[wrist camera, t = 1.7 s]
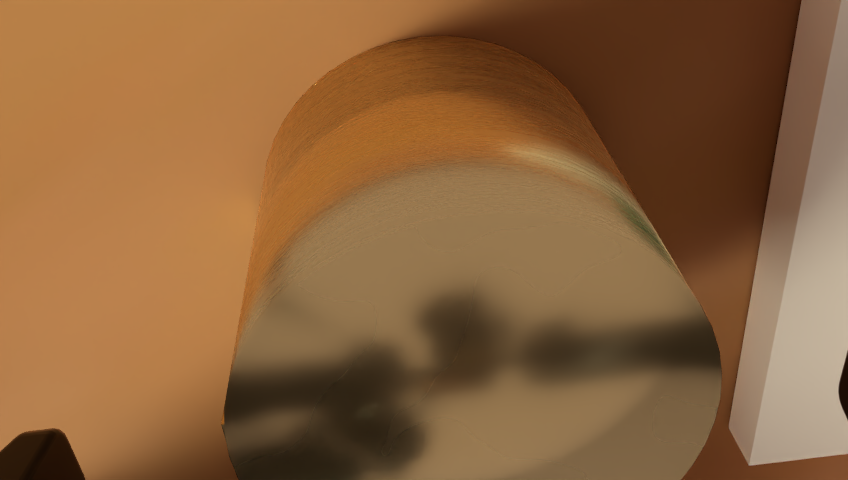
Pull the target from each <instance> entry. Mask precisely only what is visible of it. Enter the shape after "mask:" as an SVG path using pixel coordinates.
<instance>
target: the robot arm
mask: <svg viewBox="0 0 848 480" xmlns="http://www.w3.org/2000/svg"><path fill="white" fill-rule="evenodd" d="M838 394H839V400H840V404H841V406H842V409H843V411H844V413H845V416H846V418H847V420H848V351H847V355H846V359H845V362H844V366H843V370H842V374H841V378H840V381H839V387H838ZM0 480H85V477H84V474H83V472H82V470H81V468H80V465H79V463H78V461H77V459H76V457H75V454H74V452H73V450H72V448H71V446H70V443H69V441H68V439H67V437H66V435H65V434H64V433H63V432H62V431H61V430H59V429H55V428H52V429H44V430H36V431H28V432H24V433H22V434H20V435H18V436H17V437H16V438H15V439H13V440H12V441H11V442H10V443H9V444H8V445H7V446H6V447H5V448H4V449H3V450H1V451H0Z"/></svg>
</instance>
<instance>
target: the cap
mask: <svg viewBox="0 0 848 480" xmlns="http://www.w3.org/2000/svg"><path fill="white" fill-rule="evenodd" d="M721 381H722V371H721V362H720V352H719V348H718V345H717V342H716V338H715V335H714V332H713V329H712V326H711V324H710V323H709V321H708V319H707V317H706V315H705V313H704V311H703V309H702V307H701V305H700V304H699V302H698V300H697V299H696V297H695V295H694V294H693V292H692V290H691V289H690V287H689V285H688V284H687V282H686V280H685V279H684V277H683V275H682V274H681V272H680V270H679V269H678V267H677V265H676V264H675V262H674V260H673V259H672V257H671V255H670V254H669V252H668V250H667V249H666V247H665V245H664V244H663V242H662V241H661V239H660V237H659V236H658V234H657V232H656V231H655V229H654V227H653V226H652V224H651V222H650V221H649V219H648V217H647V216H646V214H645V212H644V211H643V209H642V207H641V206H640V204H639V202H638V201H637V199H636V197H635V196H634V194H633V192H632V191H631V189H630V187H629V186H628V184H627V182H626V181H625V179H624V177H623V176H622V174H621V172H620V171H619V169H618V167H617V166H616V164H615V162H614V161H613V159H612V158H611V156H610V154H609V153H608V151H607V149H606V148H605V146H604V144H603V143H602V141H601V139H600V138H599V136H598V134H597V133H596V131H595V129H594V128H593V126H592V124H591V123H590V121H589V119H588V118H587V116H586V114H585V113H584V111H583V109H582V108H581V106H580V105H579V103H578V102H577V101H576V99H575V98H574V97H573V95H572V94H571V93H570V91H569V90H568V89H567V88H566V87H565V86H564V85H563V84H562V83H561V82H560V81H559V80H558V79H557V78H556V77H555V76H554V75H552V74H551V73H550V72H548V71H547V70H546V69H544V68H543V67H542V66H540V65H539V64H537V63H536V62H534V61H533V60H531V59H529V58H527V57H525V56H523V55H521V54H519V53H518V52H516V51H513V50H511V49H508V48H505V47H502V46H500V45H497V44H494V43H490V42H486V41H481V40H477V39H472V38H465V37H453V36H430V37H417V38H411V39H405V40H400V41H395V42H392V43H388V44H385V45H382V46H379V47H375V48H372V49H370V50H368V51H366V52H363V53H361V54H359V55H357V56H355V57H352V58H350V59H348V60H347V61H345V62H344V63H342V64H340V65H339V66H337V67H336V68H334V69H332V70H331V71H329V72H328V73H327V74H326V75H324V76H323V77H322V78H321V79H320V80H318V81H317V82H316V83H315V84H314V85H312V86H311V87H310V88H309V89H308V90H307V92H306V93H305V94H304V95H303V96H302V97H301V98H300V99H299V100H298V101H297V102H296V104H295V105H294V107H293V108H292V109H291V111H290V112H289V114H288V115H287V117H286V118H285V120H284V121H283V123H282V125H281V127H280V129H279V131H278V133H277V135H276V137H275V139H274V141H273V144H272V147H271V151H270V154H269V157H268V160H267V165H266V171H265V177H264V182H263V188H262V194H261V199H260V205H259V211H258V217H257V222H256V228H255V234H254V239H253V245H252V251H251V257H250V262H249V268H248V274H247V280H246V285H245V291H244V297H243V302H242V308H241V314H240V320H239V325H238V331H237V337H236V343H235V348H234V354H233V360H232V365H231V371H230V377H229V383H228V389H227V395H226V400H225V406H224V412H223V418H222V423H221V425H222V429H223V432H224V435H225V438H226V443H227V447H228V452H229V457H230V460H231V462H232V464H233V467H234V469H235V472H236V474H237V477H238V479H239V480H681V479H682V478H683V477H684V475H685V474H686V473H687V471H688V470H689V469H690V468H691V466H692V465H693V464H694V462H695V460H696V458H697V457H698V455H699V453H700V452H701V450H702V448H703V447H704V445H705V443H706V441H707V438H708V436H709V434H710V431H711V429H712V427H713V424H714V422H715V418H716V414H717V410H718V406H719V402H720V395H721Z"/></svg>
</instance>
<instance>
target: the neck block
mask: <svg viewBox="0 0 848 480" xmlns="http://www.w3.org/2000/svg"><path fill="white" fill-rule="evenodd" d="M847 351H848V0H802V1H801V7H800V13H799V19H798V24H797V30H796V36H795V42H794V48H793V54H792V59H791V65H790V71H789V77H788V83H787V89H786V94H785V100H784V106H783V112H782V118H781V124H780V129H779V135H778V141H777V147H776V153H775V159H774V164H773V170H772V176H771V182H770V188H769V194H768V199H767V205H766V211H765V217H764V223H763V229H762V234H761V240H760V246H759V252H758V258H757V264H756V269H755V275H754V281H753V287H752V293H751V298H750V304H749V310H748V316H747V322H746V328H745V333H744V339H743V345H742V351H741V357H740V363H739V368H738V374H737V380H736V386H735V392H734V398H733V403H732V409H731V415H730V421H729V427H728V428H729V430H730V431H731V433H732V435H733V437H734V439H735V441H736V443H737V444H738V446H739V448H740V450H741V452H742V454H743V456H744V457H745V459H746V461H747V463H748V465H749V466H751V465H759V464H768V463H776V462H784V461H792V460H801V459H809V458H817V457H826V456H834V455H842V454H848V420H847V418H846V416H845V413H844V411H843V409H842V406H841V404H840V400H839V394H838V387H839V381H840V378H841V374H842V370H843V366H844V362H845V359H846V355H847Z"/></svg>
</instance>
